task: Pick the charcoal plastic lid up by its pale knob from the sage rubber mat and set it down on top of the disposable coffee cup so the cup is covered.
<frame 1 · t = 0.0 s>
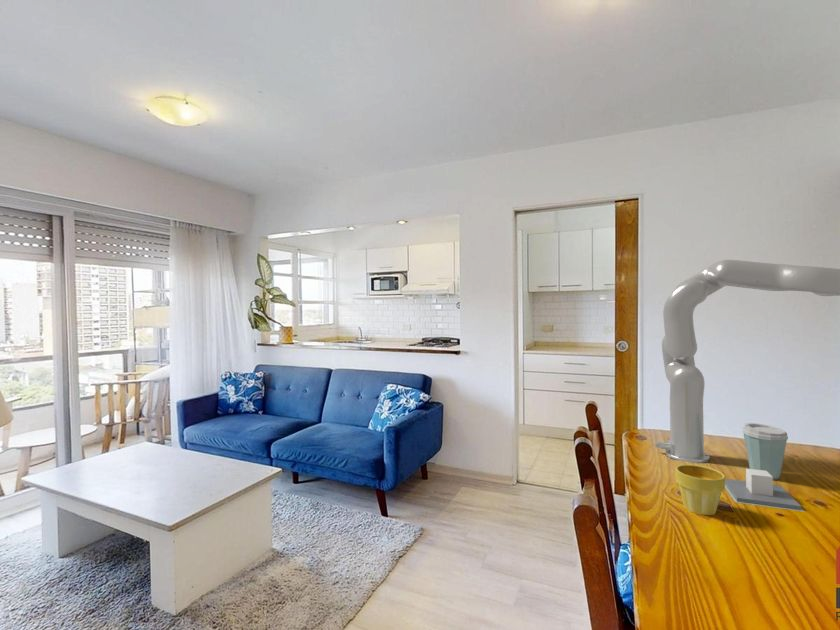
disposable coffee cup: (765, 477, 123), on the table
mat: (759, 496, 110), on the table
lid: (759, 494, 110), resting on mat
plant pot: (700, 510, 104), on the table
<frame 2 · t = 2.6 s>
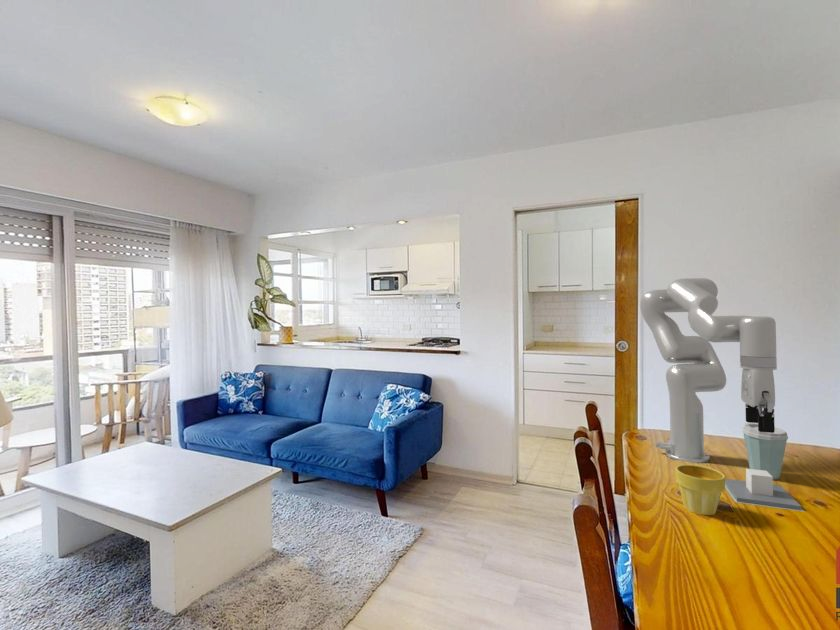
hand: (759, 427, 110), 19 cm above the table, fingers open, 9 cm apart
nothing on the table moved.
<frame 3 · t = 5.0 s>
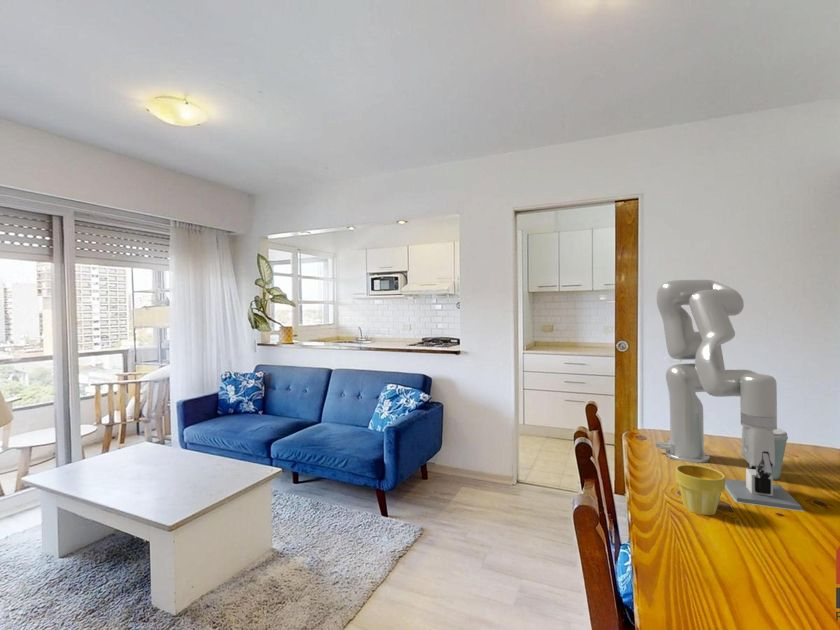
hand: (759, 488, 110), 2 cm above the table, fingers closed on lid, 4 cm apart
lid: (759, 494, 110), resting on mat, touching gripper
everything else where it was.
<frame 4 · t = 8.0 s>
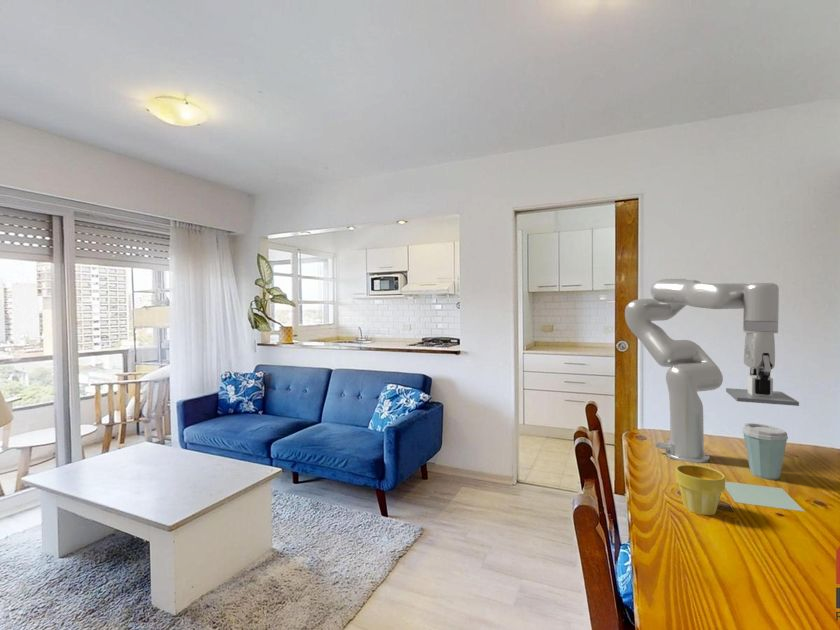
hand: (759, 391, 116), 27 cm above the table, fingers closed on lid, 4 cm apart
lid: (759, 398, 116), point 25 cm above the table, touching gripper
everything else where it was.
when the fingers open (18 cm above the table, at t = 11.0 s): lid drops 2 cm, resting on disposable coffee cup.
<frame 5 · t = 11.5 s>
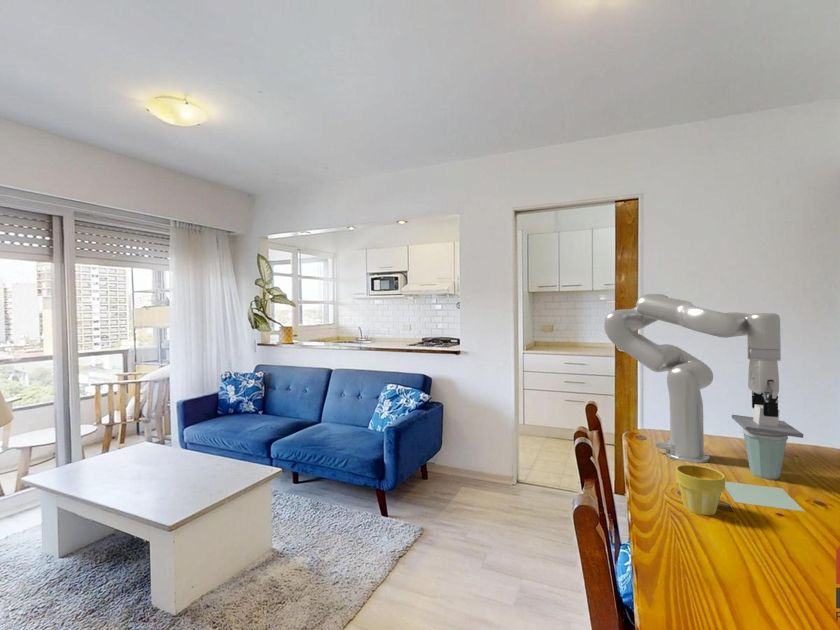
hand: (764, 412, 122), 19 cm above the table, fingers open, 9 cm apart
disposable coffee cup: (765, 477, 123), on the table, touching lid
lid: (764, 427, 122), point 15 cm above the table, touching disposable coffee cup
everything else where it was.
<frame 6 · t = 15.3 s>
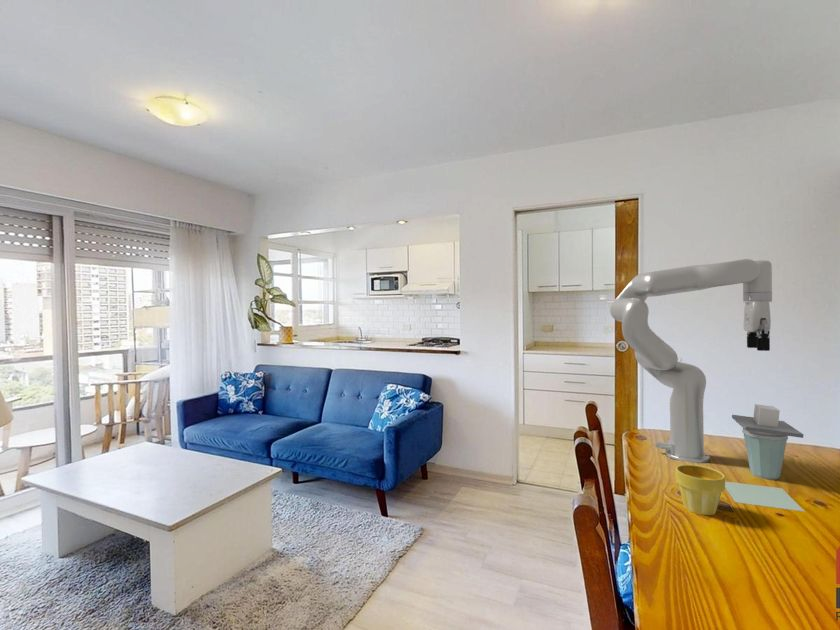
hand: (757, 349, 138), 36 cm above the table, fingers open, 9 cm apart
nothing on the table moved.
at the end: lid 0.1 cm from the disposable coffee cup (horizontally); lid point 14.9 cm above the table; the gripper is holding nothing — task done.
